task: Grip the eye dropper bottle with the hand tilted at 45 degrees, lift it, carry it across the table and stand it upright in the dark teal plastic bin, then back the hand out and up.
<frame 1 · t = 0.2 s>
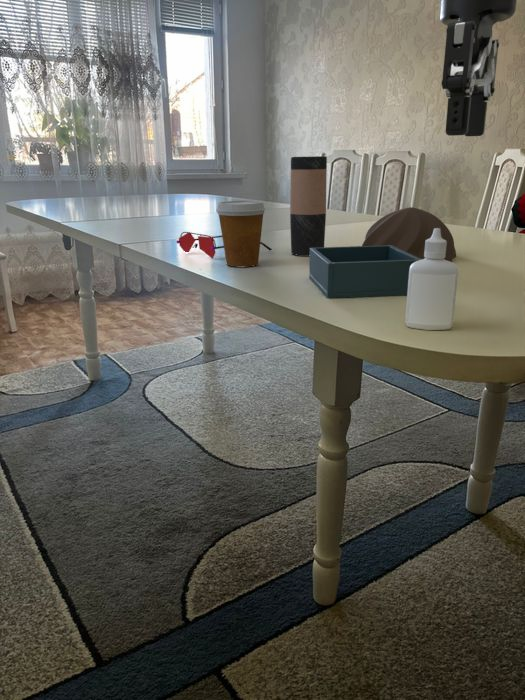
hand: (465, 135, 62), 22 cm above the table, tool pointing down, fingers open, 8 cm apart
decorative dome: (407, 256, 114), on the table
disposable coffee cup: (242, 265, 108), on the table
eye dropper bottle: (427, 327, 68), on the table
glasses: (224, 253, 122), on the table
bin: (361, 285, 89), on the table
travel mug: (307, 254, 119), on the table
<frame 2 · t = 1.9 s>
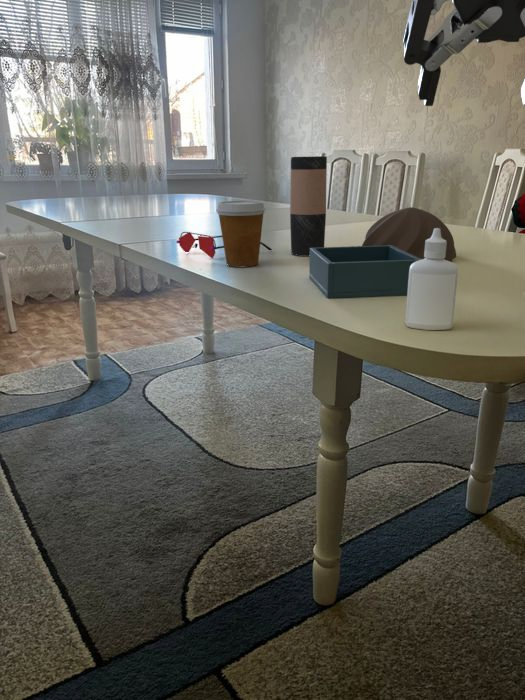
hand: (476, 99, 49), 25 cm above the table, tool tilted 45°, fingers open, 8 cm apart
nothing on the table moved.
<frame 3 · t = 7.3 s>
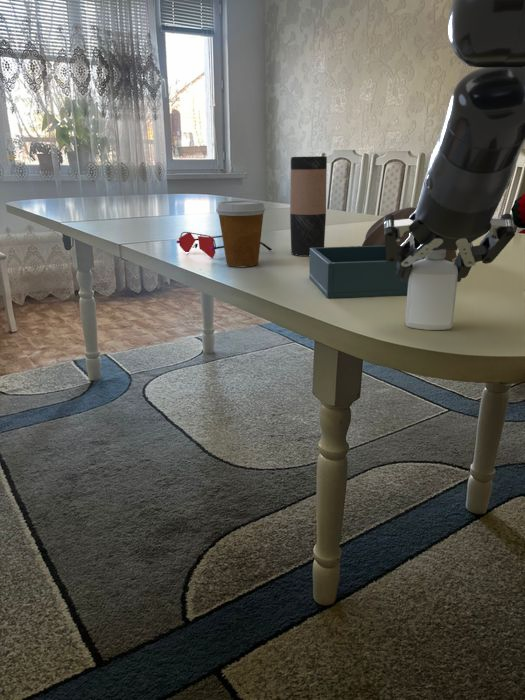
hand: (429, 275, 67), 6 cm above the table, tool tilted 45°, fingers closed on eye dropper bottle, 5 cm apart
eye dropper bottle: (427, 327, 68), on the table, touching gripper
everything else where it was.
when the fingers open (7 cm above the table, at t = 17.2 s): eye dropper bottle stays where it is, resting on bin.
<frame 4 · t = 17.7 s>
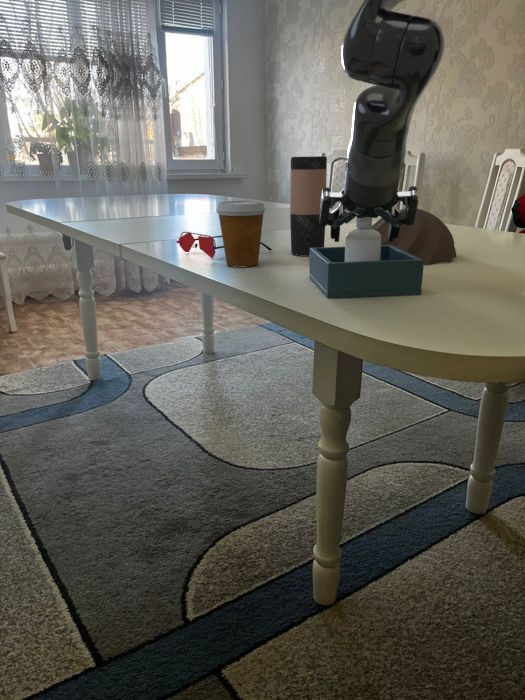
hand: (363, 237, 88), 8 cm above the table, tool tilted 45°, fingers open, 8 cm apart
eye dropper bottle: (361, 282, 89), point 1 cm above the table, touching bin
everything else where it was.
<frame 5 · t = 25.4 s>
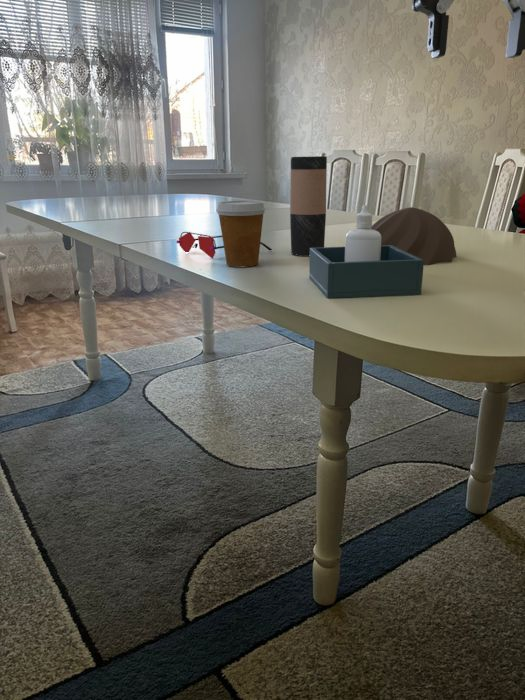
hand: (475, 57, 59), 30 cm above the table, tool pointing down, fingers open, 8 cm apart
nothing on the table moved.
at the end: eye dropper bottle inside the target area in the bin (0.1 cm from its centre), point 0.6 cm above the bin's base; eye dropper bottle tilted 0° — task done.
